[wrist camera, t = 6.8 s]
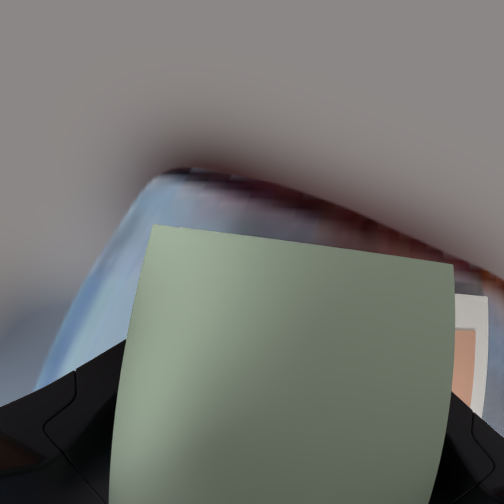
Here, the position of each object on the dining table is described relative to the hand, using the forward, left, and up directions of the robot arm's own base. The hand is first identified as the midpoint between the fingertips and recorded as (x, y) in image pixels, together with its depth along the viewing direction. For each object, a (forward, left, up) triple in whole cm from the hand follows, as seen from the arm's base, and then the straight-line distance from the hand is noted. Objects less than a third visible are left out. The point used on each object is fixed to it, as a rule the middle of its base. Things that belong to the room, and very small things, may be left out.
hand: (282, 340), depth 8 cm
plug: (-1, -1, -6) cm, 6 cm away
